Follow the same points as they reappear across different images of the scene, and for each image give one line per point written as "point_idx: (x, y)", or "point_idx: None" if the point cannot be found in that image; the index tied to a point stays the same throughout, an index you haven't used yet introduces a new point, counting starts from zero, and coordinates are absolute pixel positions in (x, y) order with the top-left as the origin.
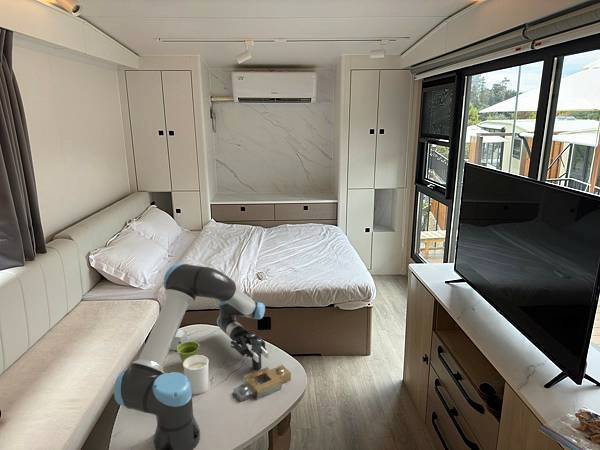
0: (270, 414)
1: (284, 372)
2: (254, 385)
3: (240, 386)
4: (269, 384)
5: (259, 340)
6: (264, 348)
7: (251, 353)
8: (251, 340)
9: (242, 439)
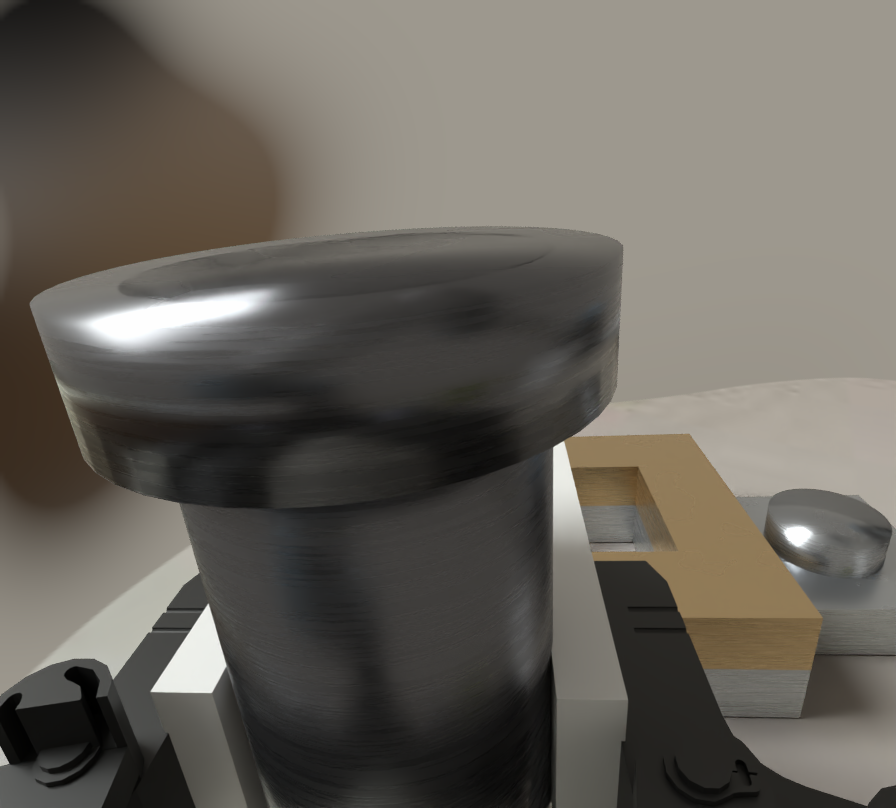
0: (636, 417)
1: None
2: (699, 474)
3: (874, 538)
4: None
5: (331, 240)
6: (189, 613)
7: (614, 595)
8: (567, 248)
9: (833, 382)
